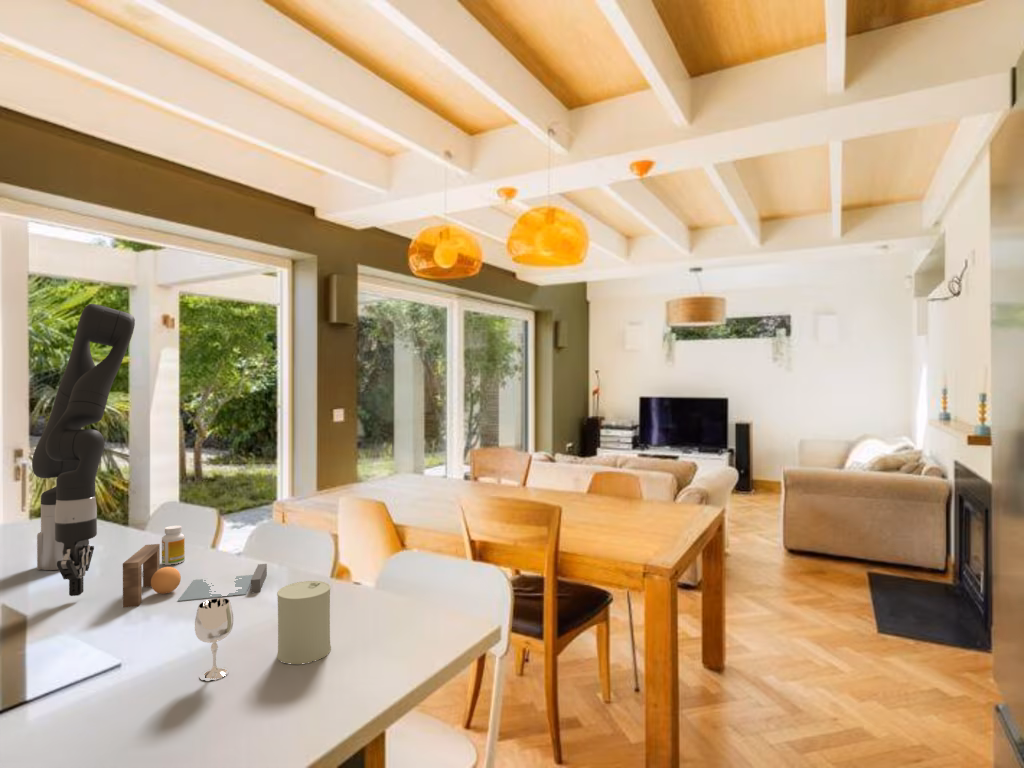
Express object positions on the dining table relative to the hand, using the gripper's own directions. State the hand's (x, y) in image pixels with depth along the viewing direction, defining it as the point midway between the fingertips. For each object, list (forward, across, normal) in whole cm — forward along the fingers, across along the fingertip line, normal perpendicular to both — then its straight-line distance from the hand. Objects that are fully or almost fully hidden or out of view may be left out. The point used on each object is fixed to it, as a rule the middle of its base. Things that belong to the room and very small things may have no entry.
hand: (76, 594), depth 128 cm
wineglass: (+2, -45, -37) cm, 58 cm away
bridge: (+2, 0, -13) cm, 13 cm away
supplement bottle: (+2, +25, -13) cm, 28 cm away
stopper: (+2, 0, -38) cm, 38 cm away
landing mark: (+2, 0, -29) cm, 29 cm away
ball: (-2, 0, -18) cm, 18 cm away
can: (+2, -41, -51) cm, 65 cm away
